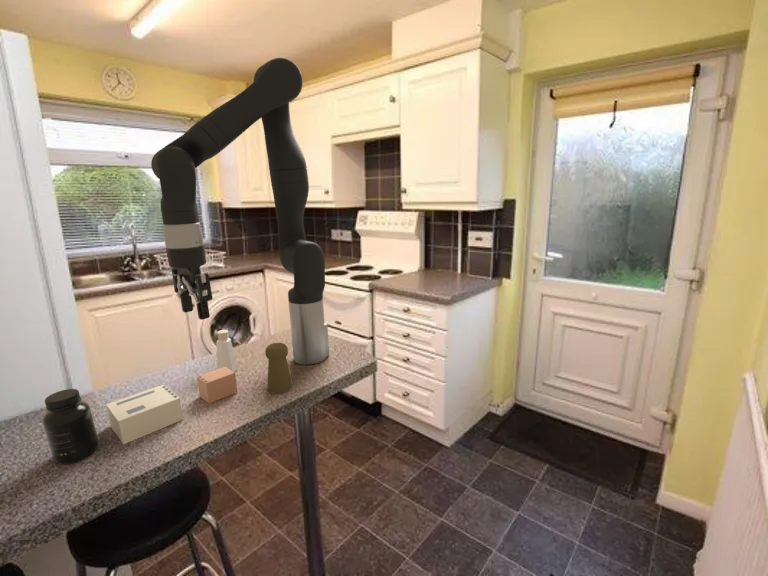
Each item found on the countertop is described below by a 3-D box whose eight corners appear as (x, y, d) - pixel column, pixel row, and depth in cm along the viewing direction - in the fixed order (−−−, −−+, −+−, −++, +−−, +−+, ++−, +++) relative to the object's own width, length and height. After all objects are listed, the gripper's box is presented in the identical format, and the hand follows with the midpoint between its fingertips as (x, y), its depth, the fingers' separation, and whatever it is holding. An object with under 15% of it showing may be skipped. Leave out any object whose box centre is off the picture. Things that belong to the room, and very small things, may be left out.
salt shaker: (222, 376, 102) (217, 336, 99) (212, 370, 105) (207, 331, 103) (242, 369, 106) (237, 330, 103) (231, 363, 109) (226, 326, 107)
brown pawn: (286, 394, 92) (282, 350, 90) (262, 392, 94) (257, 348, 91) (296, 382, 98) (293, 340, 95) (274, 380, 99) (270, 339, 97)
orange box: (227, 385, 97) (225, 366, 96) (237, 391, 94) (235, 372, 93) (199, 396, 92) (196, 376, 91) (209, 403, 89) (206, 383, 88)
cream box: (167, 404, 89) (163, 384, 88) (183, 419, 83) (179, 397, 82) (110, 426, 81) (105, 404, 80) (123, 444, 75) (118, 420, 74)
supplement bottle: (70, 443, 76) (56, 386, 73) (107, 440, 77) (94, 384, 74) (43, 467, 70) (26, 406, 67) (84, 464, 70) (69, 403, 67)
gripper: (217, 244, 84) (226, 316, 88) (188, 240, 94) (198, 305, 98) (180, 249, 79) (192, 326, 83) (154, 244, 88) (166, 313, 92)
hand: (195, 314), depth 90 cm, fingers open, 8 cm apart
